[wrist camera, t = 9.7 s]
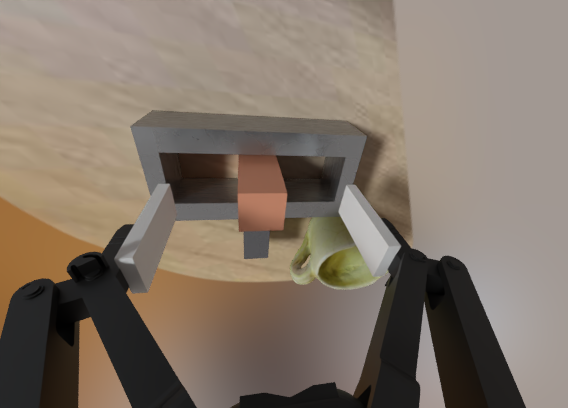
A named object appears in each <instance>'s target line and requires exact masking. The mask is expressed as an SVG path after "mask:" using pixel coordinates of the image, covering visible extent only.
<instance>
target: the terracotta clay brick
mask: <svg viewBox="0 0 568 408" xmlns="http://www.w3.org/2000/svg"><path fill="white" fill-rule="evenodd" d="M286 202H287V190H286V187H285V184H284V180H283V177H282V174H281V170H280V167H279V164H278V160H277V157H276V155H242V154H239V167H238V220H239V232H245V231H274V230H283V228H284V220H285V211H286Z"/></svg>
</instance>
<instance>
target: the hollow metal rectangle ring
mask: <svg viewBox="0 0 568 408" xmlns="http://www.w3.org/2000/svg"><path fill="white" fill-rule="evenodd" d="M130 127H131V130H132V134H133V137H134V140H135V144H136V147H137V151H138V154H139V157H140V161H141V164H142V168H143V171H144V175H145V178H146V181H147V185H148V188H149V192H150V195H152V193H153V192H154V190H155V188H156V187H157V185H158V184H170V186H171V190H172V195H173V199H174V203H175V207H176V211H177V217H176V219H175V221H182V220H223V219H238V178H182V173H181V168H180V163H179V157H178V153H201V154H242V155H284V156H325V161H324V166H323V171H322V176H321V179H283V180H284V184H285V187H286V190H287V202H286V211H285V218H305V217H341V216H340V214H339V208H340V205H341V201H342V198H343V195H344V191H345V188H346V185H353V182H354V179H355V176H356V172H357V169H358V166H359V162H360V159H361V155H362V152H363V149H364V145H365V142H366V139H367V136H366V135H365V134H364V133H362V132H361V131H360V130H358V129H357V128H355V127H354V126H353V125H351V124H350V123H349V122H347V121H341V120H322V119H303V118H285V117H266V116H247V115H229V114H210V113H191V112H173V111H154V110H152V111H151V112H149V113H148V114H147V115H145V116H144V117H142V118H141V119H140V120H138V121H137V122H136V123H134V124H133V125H131V126H130ZM269 235H270V231H245V232H244V259H253V258H268V249H269Z"/></svg>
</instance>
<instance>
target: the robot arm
mask: <svg viewBox="0 0 568 408" xmlns="http://www.w3.org/2000/svg"><path fill="white" fill-rule="evenodd" d="M339 214H340V216H341V218H342V220H343V222H344V223H345V225H346V227H347V229H348V231H349V233H350V235H351V237H352V238H353V240H354V242H355V244H356V246H357V248H358V250H359V251H360V253H361V255H362V257H363V259H364V261H365V263H366V265H367V266H368V268H369V270H370V272H371V274H372V276H373V277H379V276H385V274H386V272H387V270H388V271H389V273H390V274H391V276H390V278H389V279H388V281H387V282H386V284H385V286H387V287H386V290H385V294H384V297H383V301H382V304H381V308H380V311H379V315H378V318H377V322H376V325H375V329H374V332H373V336H372V339H371V343H370V346H369V350H368V353H367V357H366V360H365V364H364V367H363V371H362V374H361V377H360V380H359V383H358V385H357V387H356V390H355V392H354V395H353V396H352V395H351V394H349V393H347V392H345V391H343V390H340V389H337V388H336V384H335V382H333V383H326V384H320V385H313V386H311V387H309V388H308V389H305V390H303V391H302V392H300V393H298V394H296V395H294V396H292V397H285V396H279V395H274V394H268V393H259V394H253V395H246V396H240V402H239V403H238V404H236V405H234V406H232V407H231V408H419V400H420V385H419V383H418V382H417V381H416V368H417V359H418V351H419V342H420V332H421V324H422V315H423V306H424V302H425V307H426V312H427V317H428V322H429V327H430V332H431V337H432V342H433V347H434V352H435V357H436V362H437V367H438V372H439V377H440V382H441V387H442V392H443V397H444V402H445V407H446V408H526V407H525V404H524V402H523V399H522V397H521V395H520V392H519V390H518V388H517V385H516V383H515V381H514V379H513V376H512V374H511V371H510V369H509V367H508V364H507V362H506V359H505V357H504V355H503V353H502V350H501V348H500V345H499V343H498V341H497V338H496V336H495V334H494V331H493V329H492V327H491V324H490V322H489V320H488V317H487V315H486V312H485V310H484V308H483V306H482V303H481V301H480V299H479V296H478V294H477V291H476V289H475V287H474V284H473V282H472V280H471V277H470V275H469V273H468V270H467V268H466V266H465V265H464V264H463V263H462V262H461V261H459V260H458V259H456V258H454V257H451V256H444V257H442V258H441V260H440V261H438V260H433V259H428V258H427V257H426V255H424V254H423V253H422V252H420V251H418V250H416V249H411V247H410V246H409V245H408V243H407V242H406V241H405V240H404V238H403V237H402V236H401V235H400V234H399V232H398V231H397V230H396V228H395V227H394V226H393V224H392V223H391V222H389V221H388V220H387V219H385V218H380V217H379V216H378V214H377V213H376V212H375V210H374V209H373V208H372V206H371V205H370V204H369V202H368V201H367V200H366V198H365V197H364V196H363V194H362V193H361V192H360V190H359V189H358V188H357V186H356V185H346V188H345V191H344V195H343V198H342V201H341V205H340V208H339ZM176 217H177V211H176V207H175V203H174V199H173V195H172V190H171V186H170V184H158V185H157V187H156V188H155V190H154V192H153V193H152V195H151V197H150V198H149V200H148V202H147V204H146V205H145V207H144V209H143V210H142V212H141V214H140V215H139V217H138V219H137V221H136V222H135V224H127V225H123V226H122V227H121V228H120V229H118V230H117V231H116V233H115V234H114V236H113V237H112V239H111V240H110V242H109V244H108V245H107V246H106V248H105V250H104V251H103V253H102V254H101V253H99V252H89V253H85V254H82V255H80V256H78V257H76V258H75V259H74V260H72V261H71V262H70V263H69V265H68V267H67V272H68V273H69V275H70V276H71V278H72V279H70V280H66V281H63V282H59V283H56V284H55V283H54V282H53V281H51V280H50V279H38V280H34V281H32V282H29V283H27V284H25V285H24V286H22V287H21V288H19V289H18V290H17V291H16V292H15V293H14V294H13V296H12V298H11V300H10V304H9V308H8V312H7V315H6V319H5V323H4V327H3V331H2V335H1V338H0V408H78V384H79V382H78V381H79V321H80V320H83V319H86V318H89V317H91V318H92V320H93V322H94V325H95V327H96V329H97V331H98V333H99V336H100V338H101V340H102V342H103V344H104V347H105V349H106V351H107V353H108V355H109V358H110V359H111V362H112V364H113V366H114V369H115V370H116V373H117V375H118V377H119V379H120V381H121V384H122V386H123V388H124V391H125V393H126V395H127V397H128V399H129V402H130V404H131V406H132V408H197V407H196V406H195V404H194V402H193V401H192V399H191V398H190V396H189V394H188V393H187V391H186V390H185V388H184V386H183V385H182V384H181V382H180V381H179V379H178V377H177V376H176V374H175V372H174V371H173V369H172V367H171V366H170V364H169V363H168V361H167V359H166V358H165V356H164V354H163V353H162V351H161V349H160V348H159V346H158V345H157V343H156V341H155V340H154V338H153V336H152V335H151V333H150V331H149V330H148V328H147V327H146V325H145V323H144V322H143V320H142V319H141V317H140V315H139V314H138V312H137V310H136V309H135V307H134V306H133V304H132V302H131V300H130V299H129V297H128V296H127V294H126V292H127V290H128V288H130V290H131V292H132V293H146V292H148V291H149V288H150V285H151V283H152V280H153V277H154V274H155V272H156V269H157V267H158V264H159V262H160V259H161V256H162V254H163V251H164V248H165V246H166V243H167V240H168V238H169V235H170V232H171V230H172V227H173V225H174V222H175V219H176Z"/></svg>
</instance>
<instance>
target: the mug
mask: <svg viewBox="0 0 568 408" xmlns="http://www.w3.org/2000/svg"><path fill="white" fill-rule="evenodd" d="M310 254H311V256H310V260H309V263H308V264H307V266H305V267H304V268H302V269H301V266H302V265H303V264H304V263H305V261H306V260H307V258H308V256H309V255H310ZM388 272H389V271H388V270H387V272H386V274H387V273H388ZM290 274H291V277H292V279H293V280H294V281H295V282H296V283H297V284H309V283H311V282H312V281H313V280H314V279H315V278H317V279H319V280H320V281H321V282H322V284H324V285H326V286H328V287H331V288H333V289H339V290H349V289H356V288H362V287H365V286H368V285H371V284H373V283H374V282H375V281H377V280H378V279H379V278H381V277H383V276H379V277H373V276H372V274H371V272H370V270H369V268H368V266H367V265H366V263H365V261H364V259H363V257H362V255H361V253H360V251H359V250H358V248H357V246H356V244H355V242H354V240H353V238H352V237H351V235H350V233H349V231H348V229H347V227H346V225H345V223H344V222H343V220H342V218H341V217H312V218H311V220H310V223H309V226H308V230H307V233H306V235H305V238H304V241H303V243H302V246H301V248H300V249H299V250H298V252H297V253H296V255H295V257H294V259H293V260H292V262H291V265H290ZM386 274H385V275H386Z"/></svg>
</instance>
